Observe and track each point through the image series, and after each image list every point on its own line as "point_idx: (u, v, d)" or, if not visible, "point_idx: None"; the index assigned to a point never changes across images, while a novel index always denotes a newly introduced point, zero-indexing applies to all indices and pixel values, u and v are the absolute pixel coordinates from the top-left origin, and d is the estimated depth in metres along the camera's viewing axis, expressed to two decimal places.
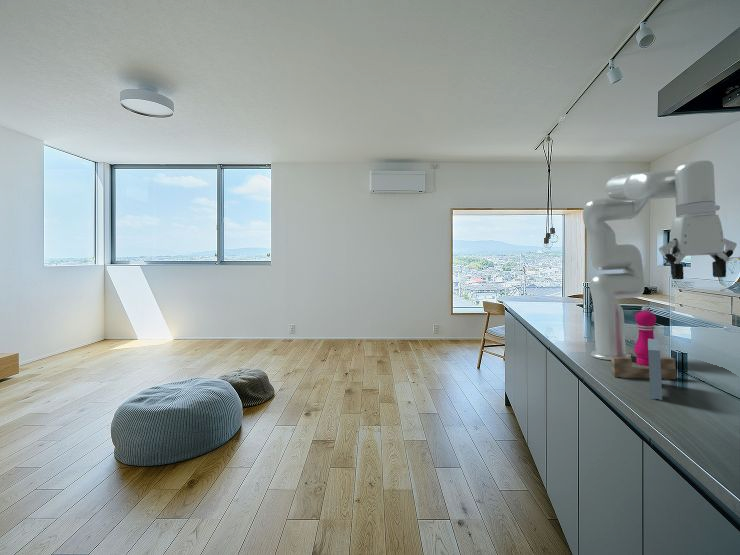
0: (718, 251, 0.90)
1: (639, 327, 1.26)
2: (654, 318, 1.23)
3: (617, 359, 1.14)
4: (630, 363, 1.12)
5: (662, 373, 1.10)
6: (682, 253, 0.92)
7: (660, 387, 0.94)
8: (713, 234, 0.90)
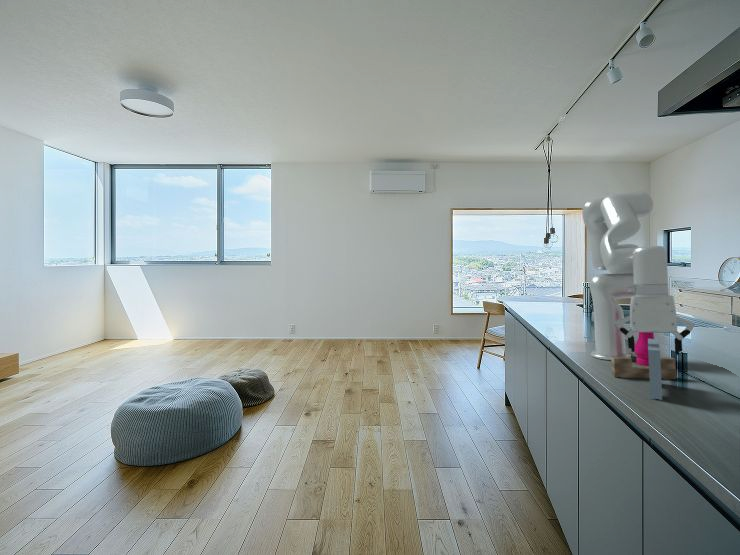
0: None
1: None
2: None
3: (617, 359, 1.14)
4: (630, 363, 1.12)
5: (662, 373, 1.10)
6: None
7: (660, 387, 0.94)
8: None
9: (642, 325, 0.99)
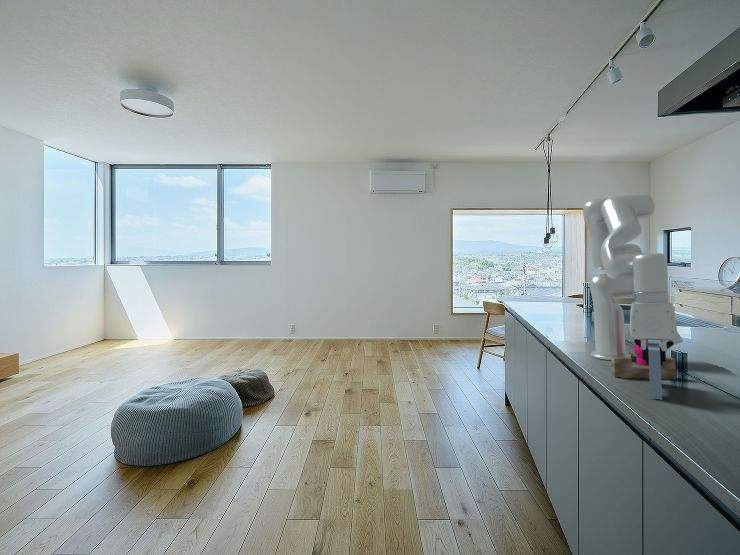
0: None
1: None
2: None
3: (617, 359, 1.14)
4: (630, 363, 1.12)
5: (662, 373, 1.10)
6: None
7: (660, 387, 0.94)
8: None
9: (642, 332, 1.00)
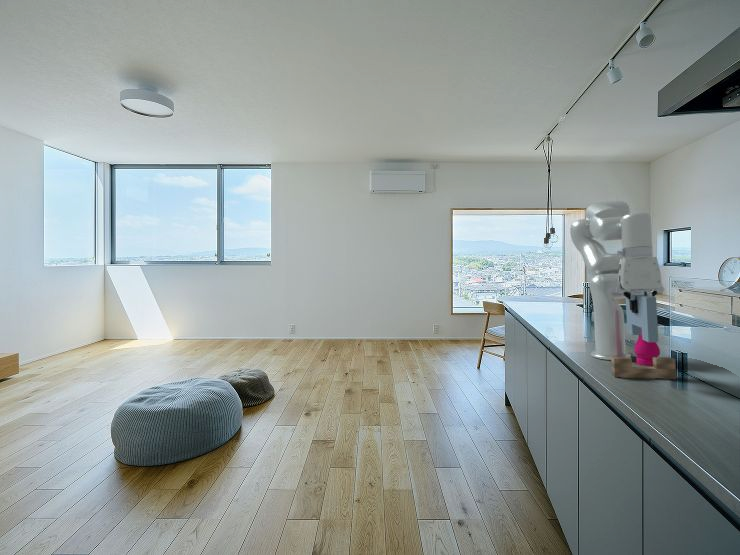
0: None
1: None
2: None
3: (617, 359, 1.14)
4: (630, 363, 1.12)
5: (662, 373, 1.10)
6: None
7: (656, 330, 1.04)
8: None
9: (633, 284, 1.10)
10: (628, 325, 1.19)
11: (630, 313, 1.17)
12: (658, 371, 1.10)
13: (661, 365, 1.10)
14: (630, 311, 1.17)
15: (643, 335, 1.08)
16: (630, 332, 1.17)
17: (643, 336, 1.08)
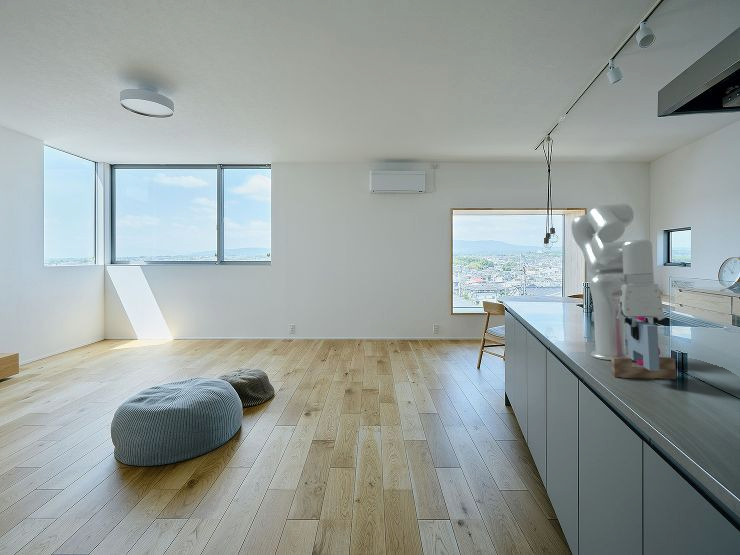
0: None
1: None
2: None
3: (617, 359, 1.14)
4: (630, 363, 1.12)
5: (662, 373, 1.10)
6: None
7: (657, 359, 1.04)
8: None
9: (635, 311, 1.10)
10: (629, 350, 1.19)
11: (631, 338, 1.17)
12: (658, 371, 1.10)
13: (661, 365, 1.10)
14: (631, 337, 1.17)
15: (644, 363, 1.08)
16: (631, 357, 1.18)
17: (644, 363, 1.08)
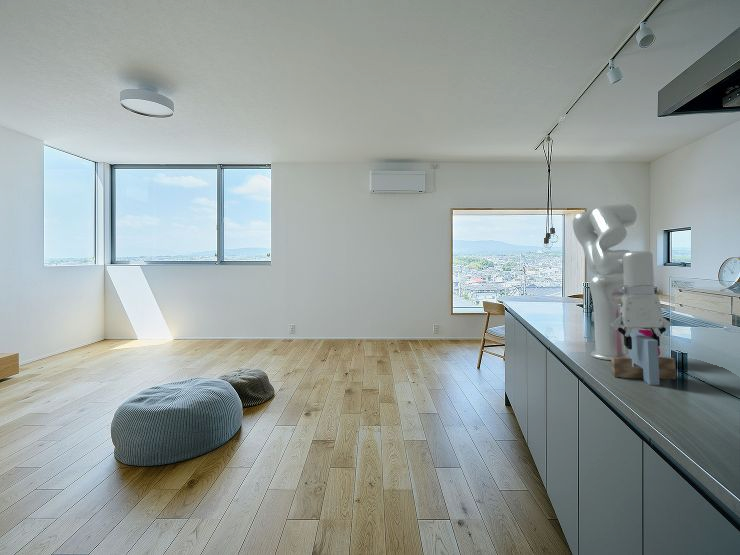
0: None
1: None
2: None
3: (617, 359, 1.14)
4: (630, 363, 1.12)
5: (662, 373, 1.10)
6: None
7: (658, 373, 1.05)
8: None
9: (635, 322, 1.10)
10: None
11: (632, 351, 1.17)
12: None
13: (661, 365, 1.10)
14: (632, 349, 1.17)
15: (644, 377, 1.09)
16: None
17: (644, 377, 1.09)
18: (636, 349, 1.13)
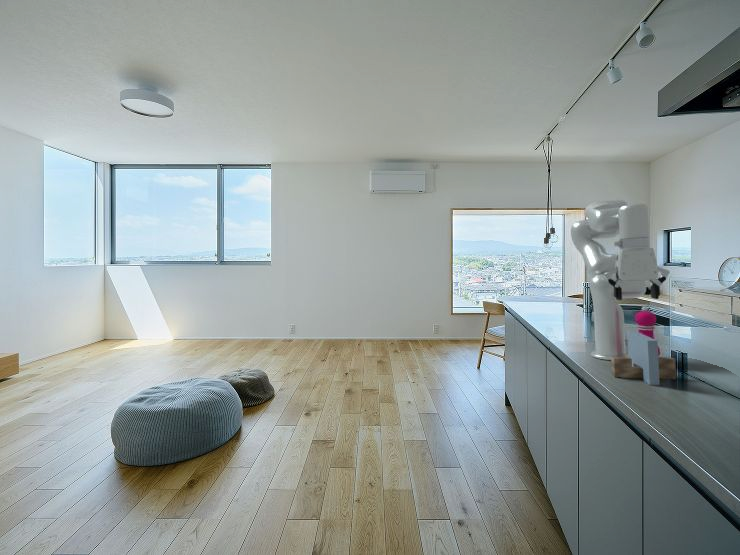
0: None
1: (639, 327, 1.26)
2: (654, 318, 1.23)
3: (617, 359, 1.14)
4: (630, 363, 1.12)
5: (662, 373, 1.10)
6: None
7: (658, 373, 1.05)
8: None
9: (630, 274, 1.11)
10: None
11: (632, 351, 1.17)
12: None
13: (661, 365, 1.10)
14: (632, 349, 1.17)
15: (644, 377, 1.09)
16: None
17: (644, 377, 1.09)
18: (636, 350, 1.13)
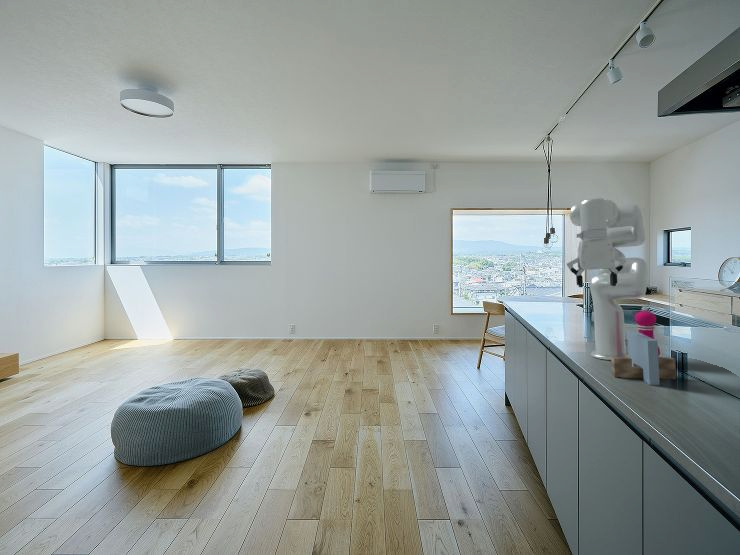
0: None
1: (639, 327, 1.26)
2: (654, 318, 1.23)
3: (617, 359, 1.14)
4: (630, 363, 1.12)
5: (662, 373, 1.10)
6: None
7: (658, 373, 1.05)
8: None
9: (590, 263, 1.20)
10: None
11: (632, 351, 1.17)
12: None
13: (661, 365, 1.10)
14: (632, 349, 1.17)
15: (644, 377, 1.09)
16: None
17: (644, 377, 1.09)
18: (636, 350, 1.13)
